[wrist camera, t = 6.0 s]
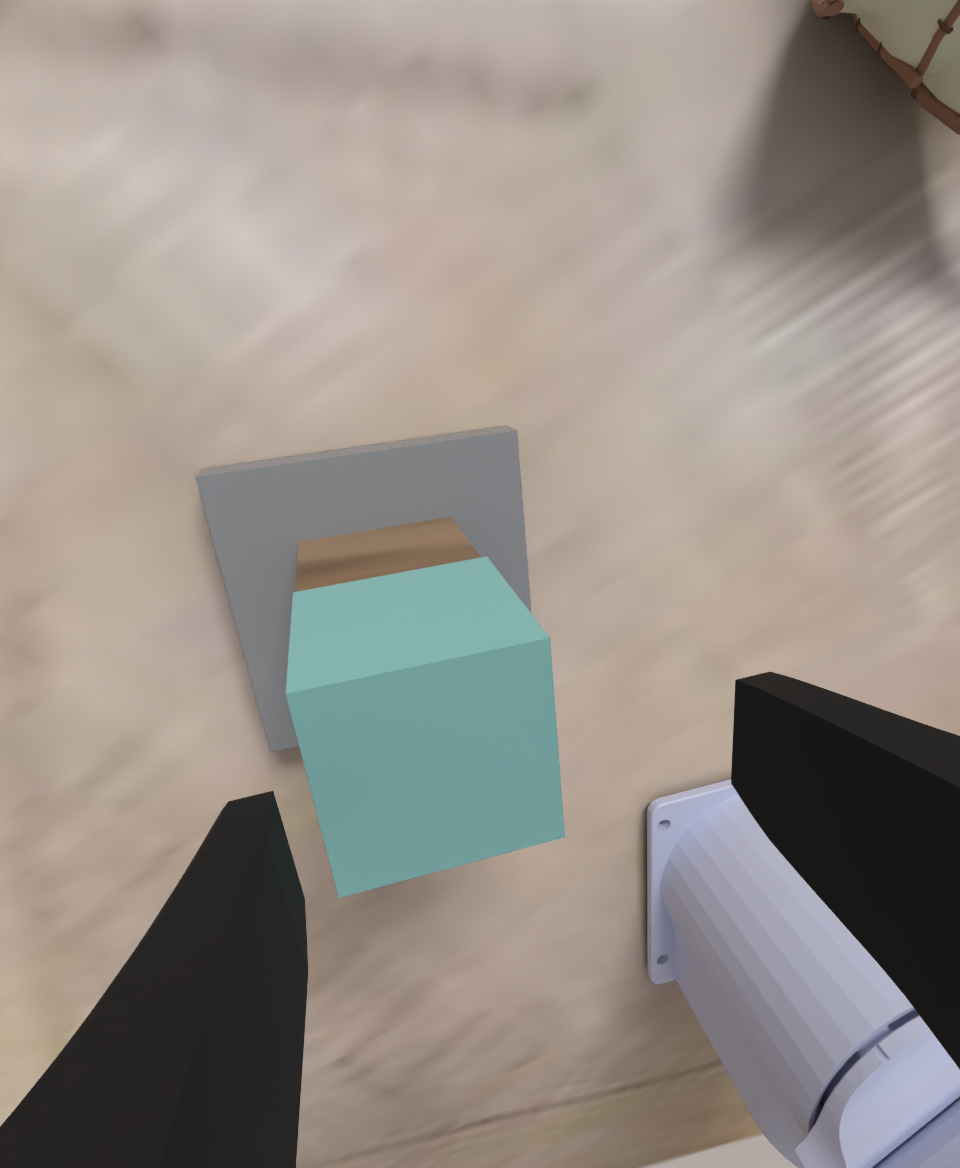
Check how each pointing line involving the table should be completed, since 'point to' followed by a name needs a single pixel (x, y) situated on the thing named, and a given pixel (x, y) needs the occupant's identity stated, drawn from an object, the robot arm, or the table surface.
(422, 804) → the teal block
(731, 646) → the table surface
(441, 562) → the walnut block
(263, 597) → the base plate
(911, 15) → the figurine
